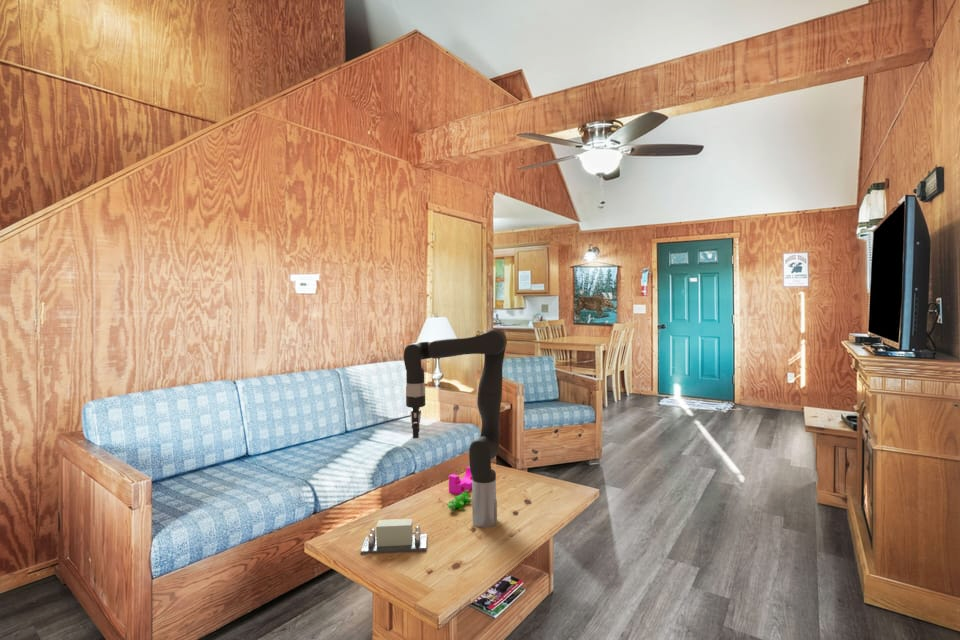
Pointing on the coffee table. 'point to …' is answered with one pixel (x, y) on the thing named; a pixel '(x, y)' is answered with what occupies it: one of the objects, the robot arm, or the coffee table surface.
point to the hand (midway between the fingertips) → (416, 435)
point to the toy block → (460, 482)
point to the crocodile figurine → (459, 501)
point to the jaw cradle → (371, 546)
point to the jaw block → (394, 532)
